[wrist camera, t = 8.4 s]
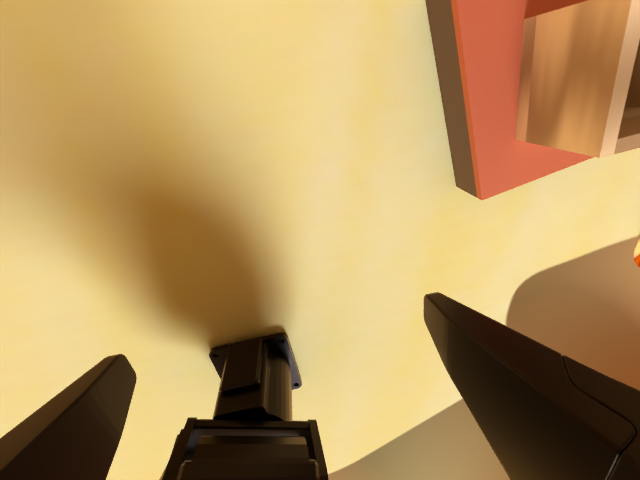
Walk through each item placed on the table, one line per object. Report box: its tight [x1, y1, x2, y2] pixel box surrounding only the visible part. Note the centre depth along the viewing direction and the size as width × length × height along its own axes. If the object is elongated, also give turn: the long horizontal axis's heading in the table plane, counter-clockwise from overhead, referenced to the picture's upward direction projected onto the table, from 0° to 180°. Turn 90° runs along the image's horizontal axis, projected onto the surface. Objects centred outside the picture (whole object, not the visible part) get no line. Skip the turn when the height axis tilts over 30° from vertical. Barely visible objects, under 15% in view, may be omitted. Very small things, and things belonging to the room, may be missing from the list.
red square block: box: [426, 0, 593, 200], centre depth 17 cm, size 11×11×4 cm
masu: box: [516, 0, 640, 158], centre depth 13 cm, size 6×6×5 cm
